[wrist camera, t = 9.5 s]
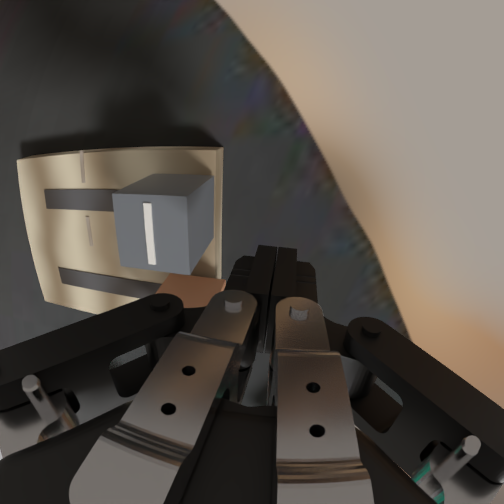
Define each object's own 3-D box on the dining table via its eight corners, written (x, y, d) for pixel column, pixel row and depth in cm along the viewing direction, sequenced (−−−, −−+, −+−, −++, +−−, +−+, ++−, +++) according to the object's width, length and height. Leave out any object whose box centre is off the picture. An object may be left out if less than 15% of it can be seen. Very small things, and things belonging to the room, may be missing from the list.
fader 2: (174, 318, 23) (150, 363, 18) (170, 273, 21) (140, 314, 17) (225, 325, 22) (209, 374, 18) (225, 279, 21) (206, 325, 16)
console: (56, 292, 27) (45, 302, 25) (31, 153, 21) (15, 158, 19) (221, 323, 25) (216, 339, 23) (223, 144, 19) (215, 147, 17)
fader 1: (156, 232, 20) (120, 266, 15) (153, 173, 18) (111, 194, 14) (213, 237, 20) (189, 276, 15) (214, 175, 18) (186, 197, 13)
